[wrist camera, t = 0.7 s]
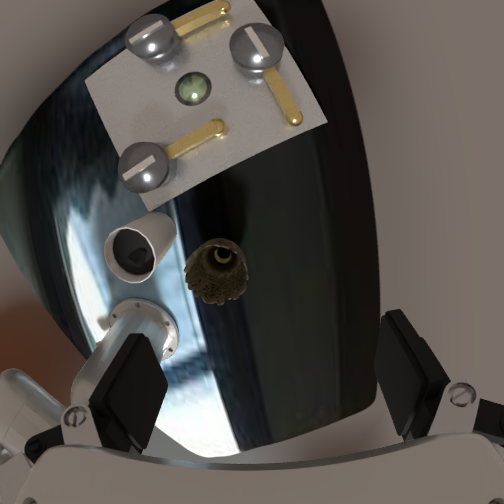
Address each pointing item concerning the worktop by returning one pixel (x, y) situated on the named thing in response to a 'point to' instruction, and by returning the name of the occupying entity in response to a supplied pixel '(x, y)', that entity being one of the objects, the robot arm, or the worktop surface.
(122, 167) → the knob
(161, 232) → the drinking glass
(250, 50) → the knob
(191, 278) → the cup
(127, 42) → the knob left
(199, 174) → the plate
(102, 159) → the worktop surface
